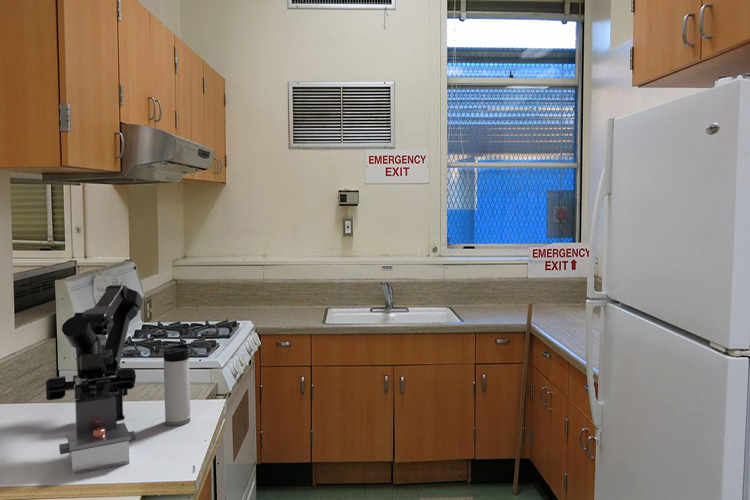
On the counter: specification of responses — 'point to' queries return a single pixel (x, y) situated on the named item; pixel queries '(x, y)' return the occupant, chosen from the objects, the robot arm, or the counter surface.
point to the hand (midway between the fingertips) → (94, 416)
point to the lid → (96, 423)
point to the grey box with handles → (98, 456)
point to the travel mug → (176, 385)
